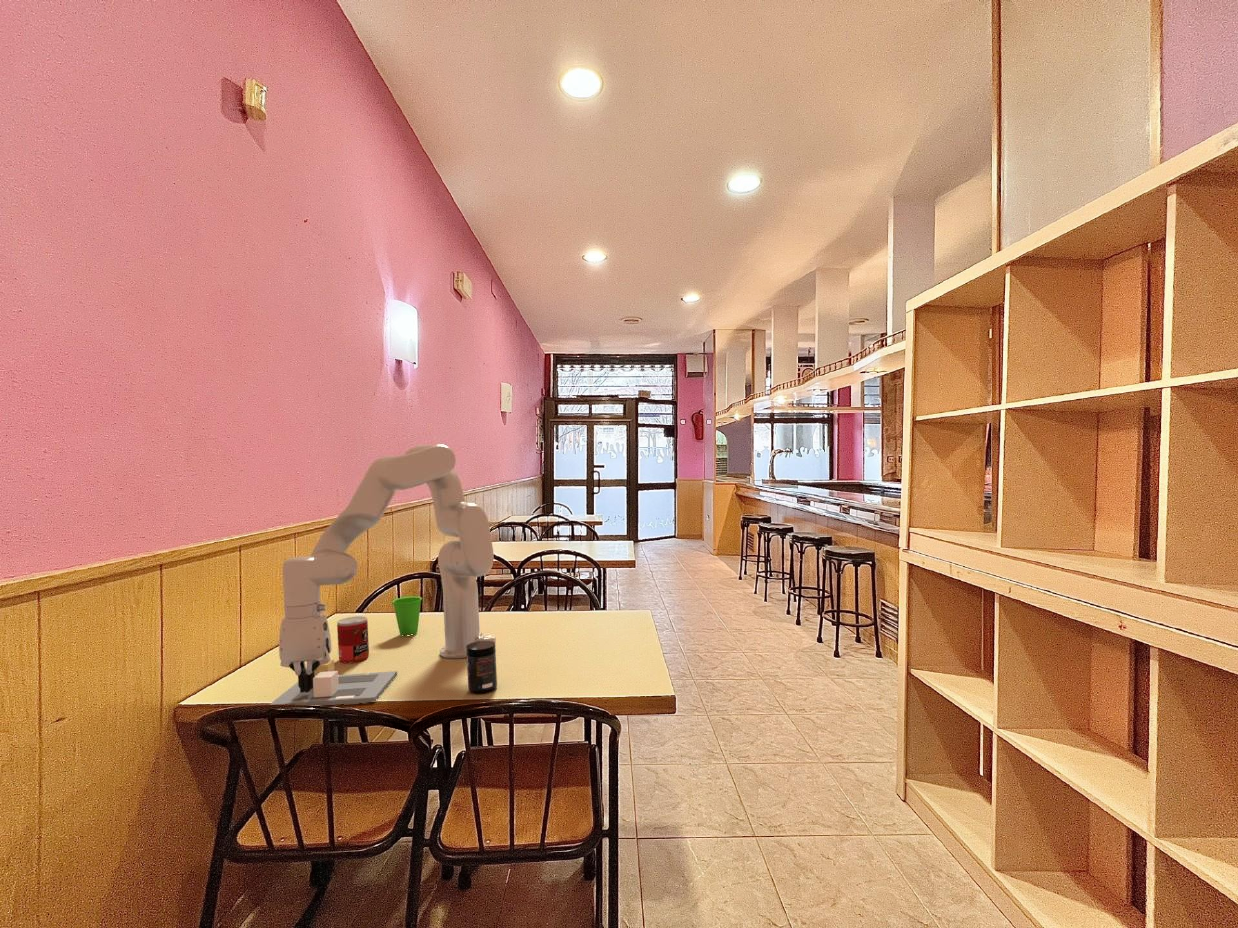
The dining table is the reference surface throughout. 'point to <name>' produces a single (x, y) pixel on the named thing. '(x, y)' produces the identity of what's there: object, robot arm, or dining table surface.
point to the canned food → (353, 639)
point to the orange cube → (325, 668)
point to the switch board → (342, 690)
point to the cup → (407, 614)
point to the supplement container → (481, 667)
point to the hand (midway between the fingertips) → (306, 689)
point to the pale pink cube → (325, 684)
